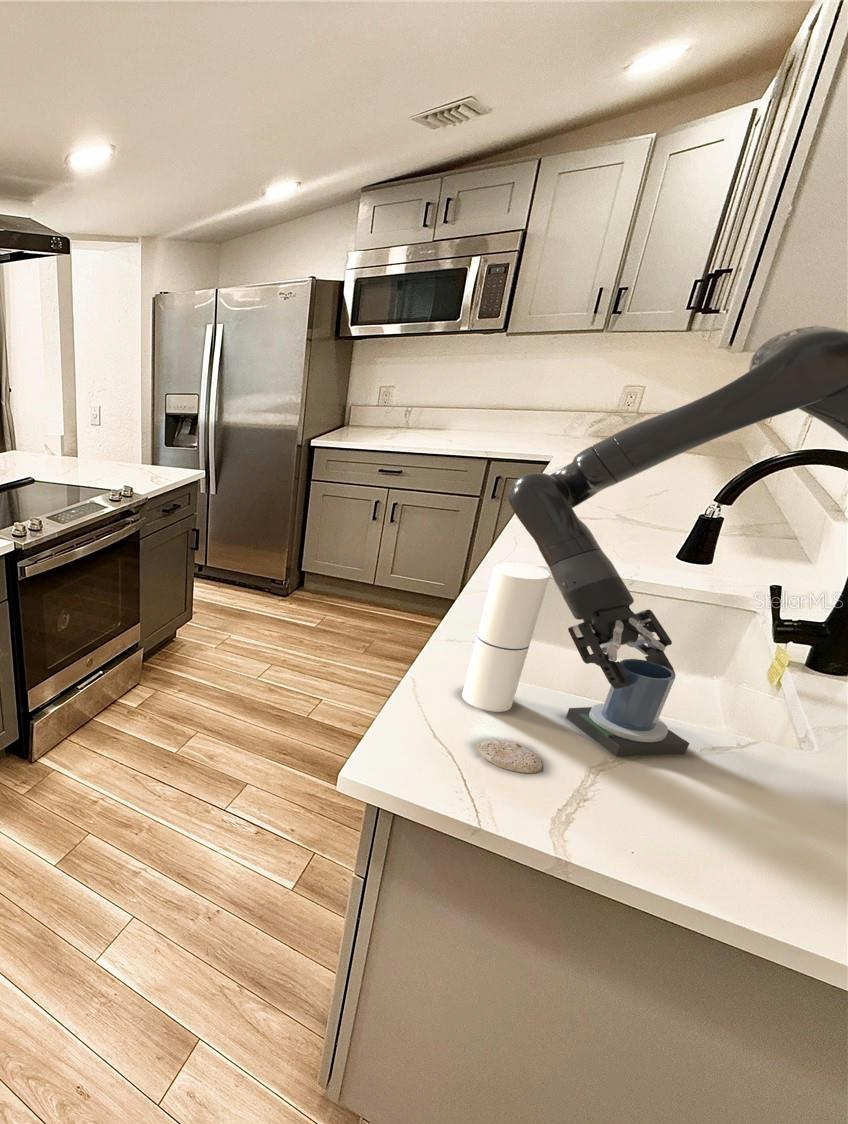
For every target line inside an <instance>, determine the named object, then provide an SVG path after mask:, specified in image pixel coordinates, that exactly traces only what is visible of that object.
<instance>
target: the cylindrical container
mask: <svg viewBox="0 0 848 1124" xmlns="http://www.w3.org/2000/svg"><path fill="white" fill-rule="evenodd" d="M492 571H493V572H492V575H491V579H490V583H489V586H488V591H487V595H486V599H485V602H484V607H483V610H482V615H481V619H480V622H479V627H478V631H477V635H476V638H475V643H474V646H473V650H472V653H471V654H472V655H471V659H470V661H469V666H468V670H467V674H466V678H465V683H464V686H463V690H462V693H461V694H462V696H461V697H462V698H463V700H464V701H465V702H466V703H468V704H469V705H471V706H473V707H475V708H477V709H480V710H483V711H488V712H493V713H494V712H495V713H496V712H497V713H501V712H506V711H509V710H510V709H512V707H513V703H514V699H515V696H516V692H517V689H518V687H519V682H520V679H521V675H522V672H523V669H524V665H525V662H526V659H527V655H528V652H529V649H530V645H531V642H532V638H533V635H534V631H535V628H536V626H537V625H536V624H537V621H538V619H539V614H540V611H541V608H542V604H543V600H544V597H545V594H546V590H547V587H548V585H549V584H548V583H549V581H550V577H551V572H549V571H548V570H547V569H545V568H543V567H540V566H537V565H533V564H530V563H529V564H528V563H523V562H501V563H498V564H495V565H494V567H493V570H492Z"/></svg>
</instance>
